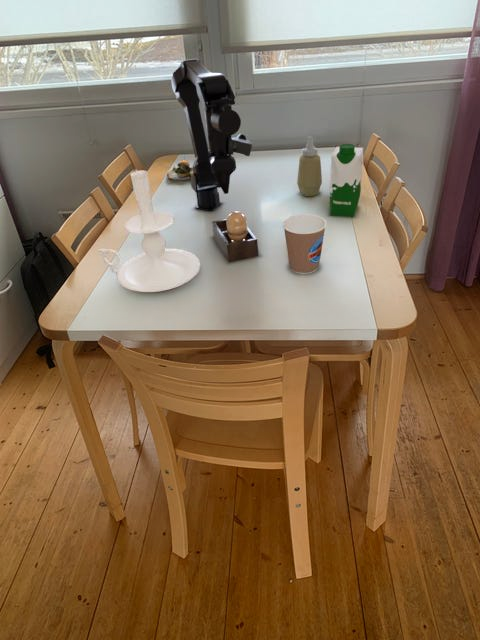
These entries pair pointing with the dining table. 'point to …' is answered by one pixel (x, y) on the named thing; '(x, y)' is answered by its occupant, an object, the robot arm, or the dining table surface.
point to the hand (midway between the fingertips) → (225, 188)
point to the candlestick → (152, 248)
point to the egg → (236, 226)
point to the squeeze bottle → (309, 170)
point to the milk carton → (345, 180)
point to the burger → (181, 171)
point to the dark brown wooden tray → (236, 249)
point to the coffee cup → (304, 241)
